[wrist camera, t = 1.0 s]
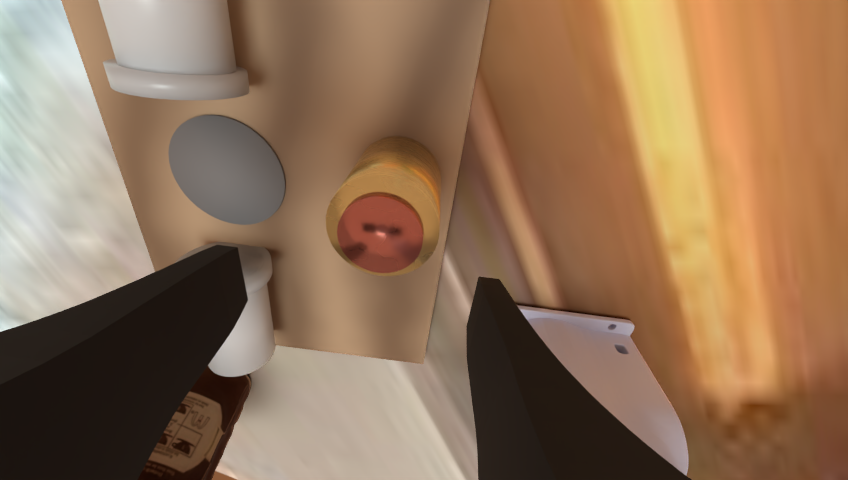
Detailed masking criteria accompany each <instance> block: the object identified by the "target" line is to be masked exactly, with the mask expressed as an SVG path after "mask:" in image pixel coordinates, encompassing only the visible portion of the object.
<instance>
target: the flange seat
mask: <svg viewBox="0 0 848 480" xmlns="http://www.w3.org/2000/svg"><path fill="white" fill-rule="evenodd" d="M168 154H169V163H170V168H171V171H172V174H173V176H174V178H175V180H176V182H177V184H178V185H179V187H180V189H181V190H182V191H183V193H184V194H185V195H186V196H187V197H188V198H189V200H190V201H192V202H193V203H194V204H195V205H196V206H197V207H198V208H200V209H201V210H202V211H204V212H206V213H207V214H209V215H211V216H212V217H214V218H217V219H219V220H221V221H224V222H228V223H232V224H239V225H250V224H256V223H259V222H262V221H264V220H266V219H268V218H269V217H271V216H272V215H273V214H274V213H275V212H276V211H277V210H278V208H279V207H280V206H281V204H282V202H283V199H284V196H285V190H286V180H285V174H284V170H283V167H282V164H281V162H280V160H279V158H278V156H277V154H276V153H275V151H274V150H273V148H272V147H271V146H270V145H269V143H268V142H267V141H266V140H265V139H264V138H263V137H262V136H261V135H260V134H259V133H257V132H256V131H255V130H253V129H252V128H251V127H249V126H247V125H246V124H244V123H242V122H240V121H238V120H236V119H233V118H230V117H226V116H221V115H202V116H197V117H194V118H192V119H189V120H187V121H186V122H184V123H182V124H181V125H180V126H179V127H178V128H177V129H176V131H175V132H174V134H173V136H172V138H171V140H170V144H169V152H168Z"/></svg>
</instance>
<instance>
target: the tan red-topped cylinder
mask: <svg viewBox="0 0 848 480" xmlns="http://www.w3.org/2000/svg"><path fill="white" fill-rule="evenodd" d="M440 198H441V172H440V168H439V165H438V162H437V160H436V158H435V157H434V155H433V154H432V153H431V152H430V150H429V149H428V148H426V147H425V146H424V145H423V144H421V143H420V142H418V141H416V140H414V139H411V138H407V137H402V136H391V137H386V138H383V139H380V140H378V141H376V142H374V143H373V144H372V145H370V146H369V147H368V148H367V149H366V150H365V152H364V153H363V154H362V156H361V157H360V159H359V160H358V162H357V163H356V165H355V166H354V167H353V169H352V170H351V172H350V173H349V175H348V176H347V178H346V179H345V181H344V182H343V184H342V185H341V187H340V188H339V189H338V191H337V192H336V194H335V195H334V197H333V198H332V200H331V202H330V204H329V206H328V209H327V213H326V230H327V234H328V237H329V240H330V242H331V244H332V246H333V248H334V249H335V250H336V252H337V253H338V254H339V255H340V256H341V257H342V258H343V259H344V260H345V261H346V262H347V263H349V264H350V265H352V266H353V267H355V268H357V269H359V270H361V271H363V272H366V273H369V274H373V275H378V276H397V275H402V274H406V273H409V272H411V271H413V270H415V269H417V268H419V267H420V266H422V265H423V264H424V263H425V262H426V261H427V260H428V259H429V258H430V257H431V255H432V254H433V252H434V251H435V248H436V246H437V243H438V239H439V229H440Z"/></svg>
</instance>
